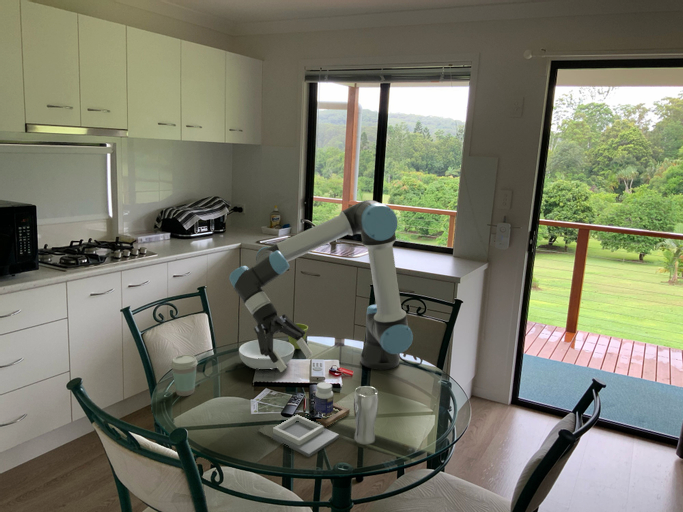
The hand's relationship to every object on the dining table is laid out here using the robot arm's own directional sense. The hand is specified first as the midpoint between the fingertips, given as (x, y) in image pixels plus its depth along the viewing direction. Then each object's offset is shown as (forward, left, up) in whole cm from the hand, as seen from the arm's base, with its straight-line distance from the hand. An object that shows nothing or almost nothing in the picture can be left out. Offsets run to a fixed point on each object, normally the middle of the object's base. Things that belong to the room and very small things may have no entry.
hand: (297, 362), depth 172 cm
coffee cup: (+18, -34, -15) cm, 42 cm away
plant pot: (-37, -34, -15) cm, 53 cm away
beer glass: (+2, +29, -15) cm, 32 cm away
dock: (+13, +13, -15) cm, 23 cm away
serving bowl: (-16, -30, -15) cm, 38 cm away
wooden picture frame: (-1, +11, -15) cm, 18 cm away
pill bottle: (-1, +11, -15) cm, 18 cm away
